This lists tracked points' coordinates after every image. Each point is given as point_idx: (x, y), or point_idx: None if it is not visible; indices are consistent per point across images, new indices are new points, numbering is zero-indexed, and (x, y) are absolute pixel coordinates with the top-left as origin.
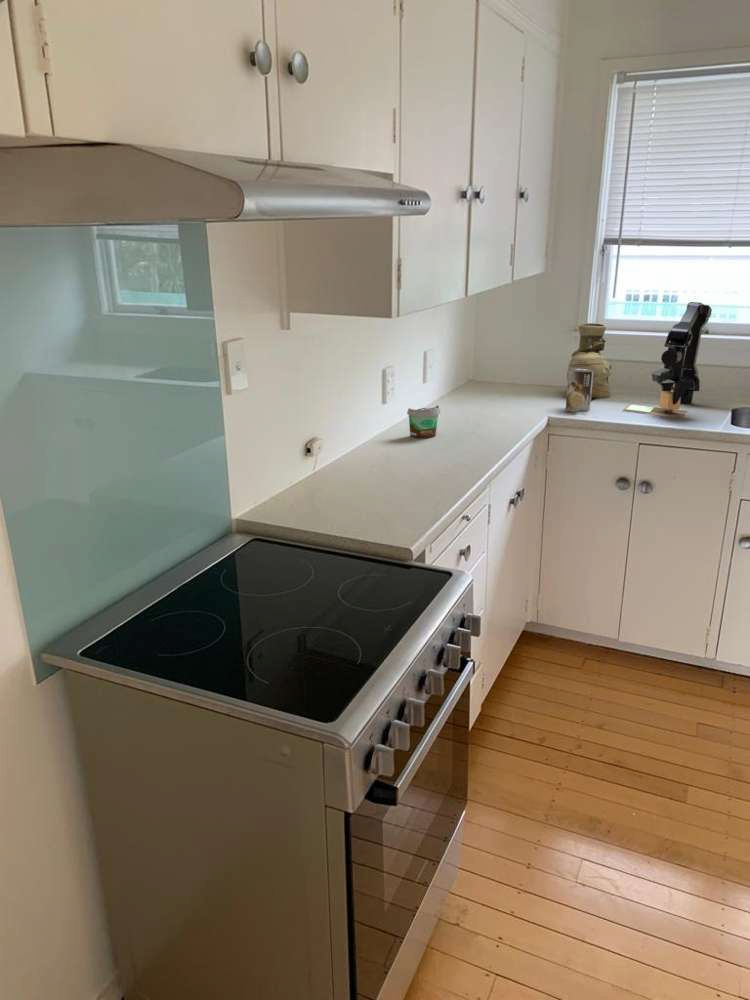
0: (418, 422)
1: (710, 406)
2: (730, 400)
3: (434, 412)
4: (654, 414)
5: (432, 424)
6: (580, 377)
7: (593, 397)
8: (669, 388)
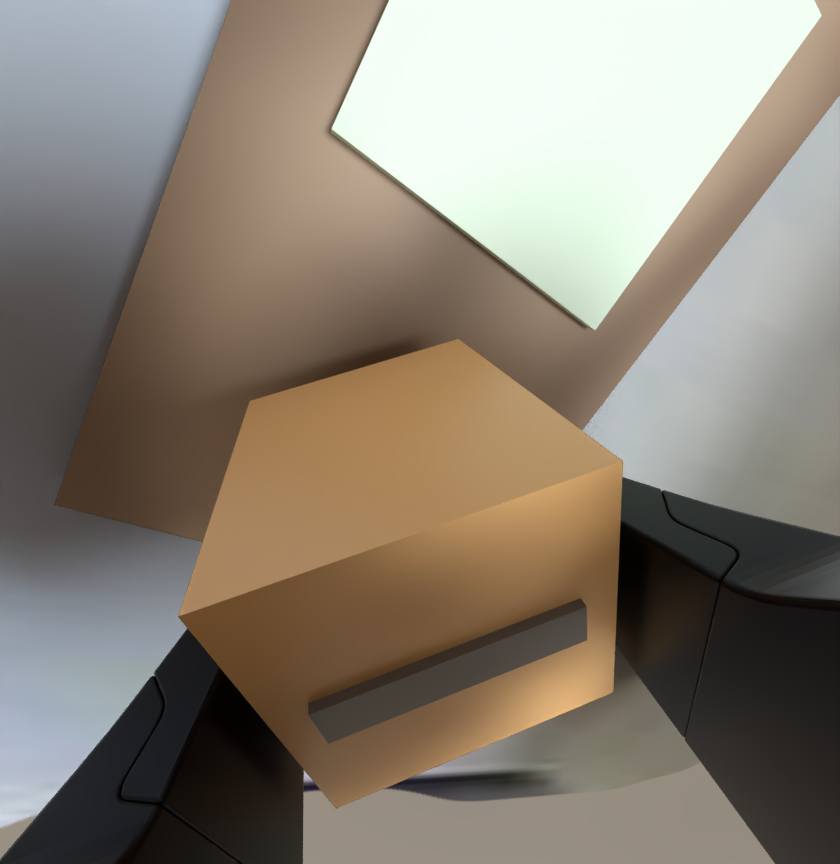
0: None
1: (609, 703)
2: (683, 759)
3: None
4: (240, 186)
5: None
6: None
7: None
8: (679, 685)
